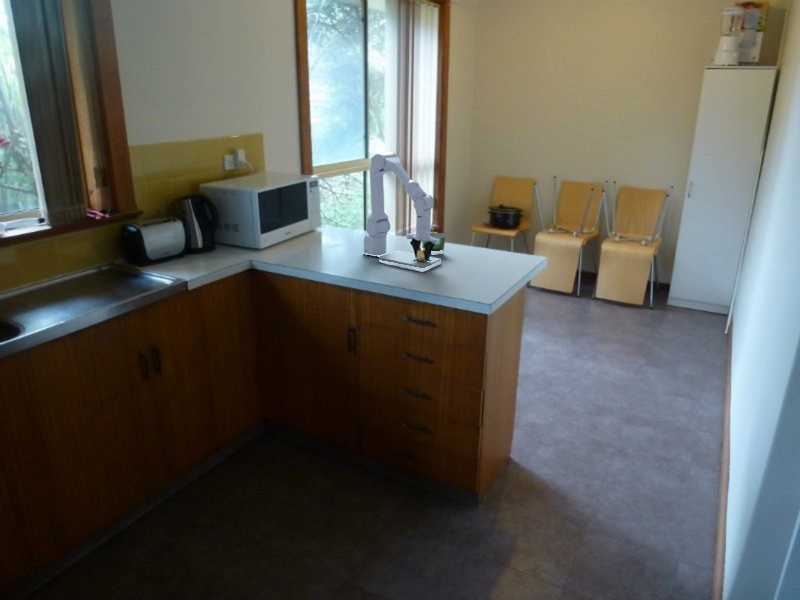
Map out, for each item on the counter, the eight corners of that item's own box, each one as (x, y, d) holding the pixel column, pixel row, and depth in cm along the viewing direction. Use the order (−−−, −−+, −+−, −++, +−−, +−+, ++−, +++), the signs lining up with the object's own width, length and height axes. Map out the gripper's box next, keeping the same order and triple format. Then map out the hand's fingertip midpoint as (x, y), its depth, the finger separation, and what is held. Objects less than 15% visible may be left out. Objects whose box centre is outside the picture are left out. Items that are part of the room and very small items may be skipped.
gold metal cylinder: (414, 263, 242) (414, 249, 240) (420, 261, 245) (421, 247, 243) (422, 265, 239) (422, 251, 237) (428, 263, 242) (429, 249, 240)
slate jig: (378, 262, 246) (378, 257, 245) (397, 255, 257) (397, 249, 256) (423, 272, 235) (423, 266, 234) (441, 264, 245) (441, 258, 245)
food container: (414, 253, 260) (415, 231, 257) (420, 250, 266) (421, 228, 262) (440, 257, 255) (441, 235, 252) (446, 254, 260) (447, 232, 257)
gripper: (402, 225, 237) (402, 257, 242) (433, 230, 230) (432, 263, 235) (412, 222, 243) (411, 253, 248) (442, 227, 235) (441, 259, 240)
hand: (422, 258), depth 241 cm, fingers closed on gold metal cylinder, 4 cm apart
